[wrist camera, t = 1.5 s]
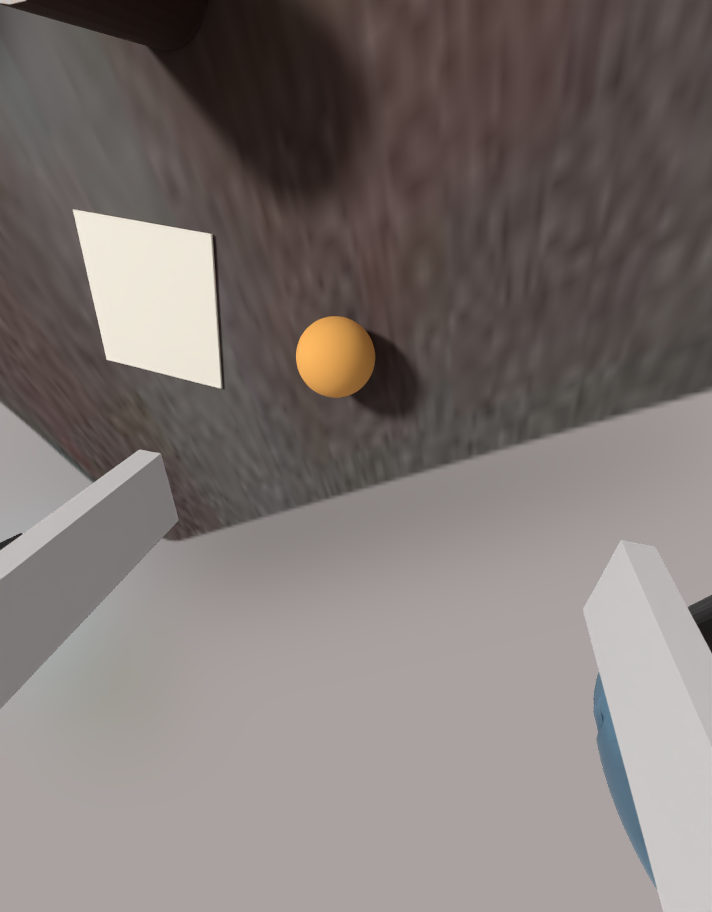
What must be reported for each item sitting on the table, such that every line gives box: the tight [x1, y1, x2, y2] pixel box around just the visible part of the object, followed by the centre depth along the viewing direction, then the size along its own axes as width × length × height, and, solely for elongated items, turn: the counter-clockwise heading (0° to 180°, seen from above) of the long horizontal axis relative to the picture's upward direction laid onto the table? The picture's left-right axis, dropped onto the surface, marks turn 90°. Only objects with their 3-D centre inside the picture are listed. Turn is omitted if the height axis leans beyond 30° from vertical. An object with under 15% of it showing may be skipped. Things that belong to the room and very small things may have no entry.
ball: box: [296, 316, 375, 398], centre depth 28 cm, size 6×6×6 cm
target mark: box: [73, 210, 222, 388], centre depth 33 cm, size 12×12×1 cm
